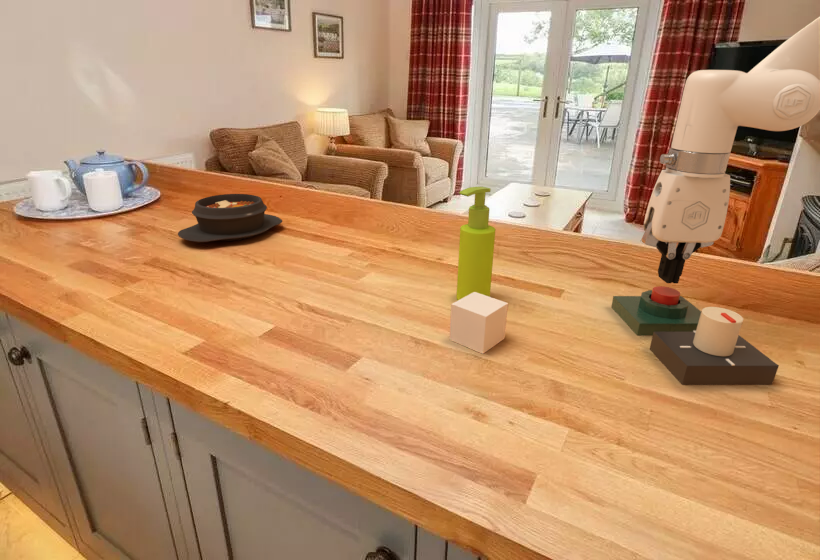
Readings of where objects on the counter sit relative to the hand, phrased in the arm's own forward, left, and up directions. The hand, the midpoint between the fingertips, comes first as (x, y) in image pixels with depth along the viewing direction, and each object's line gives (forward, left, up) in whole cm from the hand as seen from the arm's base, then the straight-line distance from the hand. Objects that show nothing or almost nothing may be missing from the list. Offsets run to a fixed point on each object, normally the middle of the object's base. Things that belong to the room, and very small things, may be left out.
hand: (667, 279), depth 78 cm
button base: (0, 0, -7) cm, 7 cm away
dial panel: (0, +14, -7) cm, 15 cm away
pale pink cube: (+31, +6, -8) cm, 32 cm away
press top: (0, 0, -4) cm, 4 cm away
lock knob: (0, +14, -4) cm, 14 cm away
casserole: (+83, -45, -8) cm, 95 cm away
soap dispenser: (+30, -8, -8) cm, 32 cm away
